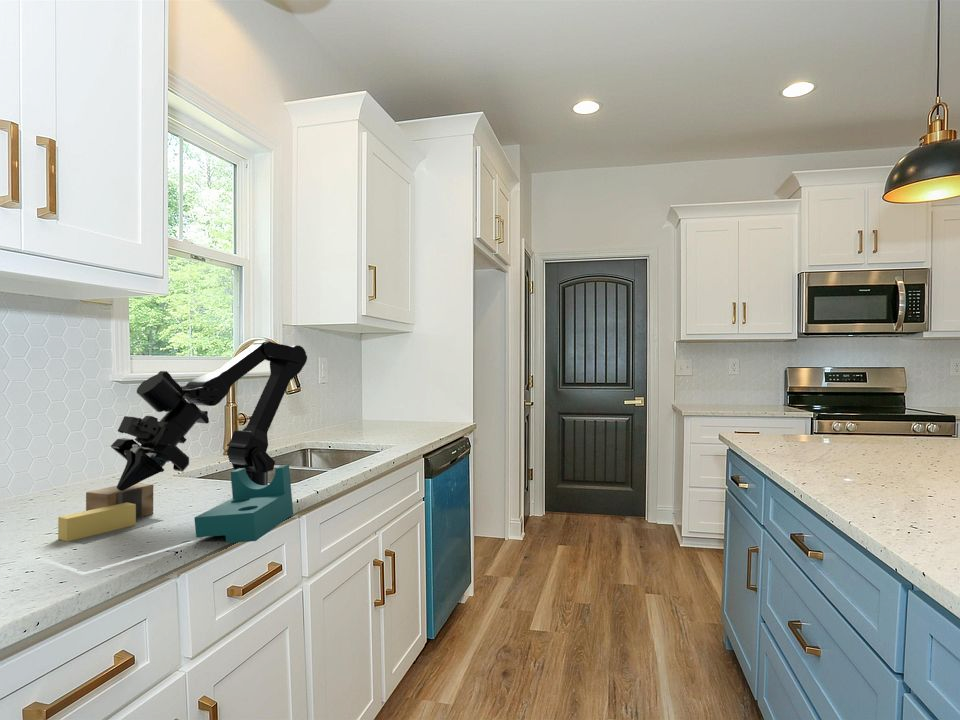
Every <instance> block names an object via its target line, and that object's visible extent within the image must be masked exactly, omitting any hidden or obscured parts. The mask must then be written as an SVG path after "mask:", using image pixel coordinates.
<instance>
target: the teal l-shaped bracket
mask: <svg viewBox="0 0 960 720" xmlns="http://www.w3.org/2000/svg"><path fill="white" fill-rule="evenodd" d="M274 469H275V472H274V475H273V476H274V477H273V479H272V481H271V482H270V483H268V485H258V484H256V483H254V482H253V481H251V479H250V478H249V477H248V475H247V473H246V469H245V468H240V469H237V470H234V469H233V470H232V471H230V480H231V481H230V483H231V493H232V494H231V495H232V498H230V499H228V500H226V501H225V502H223V503H221V504H218V505H217V506H214V507H213V508H210V509H208V510H207V511H204V512H202V513H201V514H199V515H196V516H195V517H193V518H194V527H195V538H205V537H206V538H207V537H219V536H225V544H226V543H231V544H235V543H237V544H238V543H248V542H250V543H251V542H257V541H258V540H260V539H261V538H262V537H264V536H265V535H266V534H268V533H269V532H270V531H272V530H273V529H275V528H276V527H278V526H279V525H280V524H282V523H283V522H284V521H286V520H287V519H288V518H290V517H292V516H293V515H294V509H293V495H292V486H291V485H292V484H291V473H290V472H291V471H290V464H282V465H279V466H277V467H275V468H274Z"/></svg>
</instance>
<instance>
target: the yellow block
mask: <svg viewBox="0 0 960 720" xmlns="http://www.w3.org/2000/svg"><path fill="white" fill-rule="evenodd" d="M57 519H58V520H57V523H58V524H57V525H58V526H57V531H58V533H57V535H58V536H57V537H58V538H57V539H58V540H59V541H61V540H64V541H63V542H67V541H71V540H75V539H79V538H83V537H87V536H91V535H95V534H100V533H104V532H108V531H112V530H116V529H120V528H124V527H128V526H132V525H136V504H132V503H128V502H126V503H122V504H117V505H112V506H107V507H102V508H97V509H93V510H88V511H86V510H84V511H79V512H75V513H74V512H73V513H68V514H65V515H60V516H58V518H57Z"/></svg>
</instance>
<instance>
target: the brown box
mask: <svg viewBox="0 0 960 720" xmlns="http://www.w3.org/2000/svg"><path fill="white" fill-rule="evenodd" d="M126 502H128V503H132V504H136V518H139V517H146V516H149V515H150V516H151V515H154V484H152V483H144V482H143V483H141V482H139V483H137V484H135V485H133V486H131V487H129V488H127V489H125V490H123V491H120V490H118V489H117V485H112V486H108V487H105V488H99V489H95V490H91V491H86V492H85V511H88V510H93V509H97V508H102V507H107V506H112V505H117V504H122V503H126Z"/></svg>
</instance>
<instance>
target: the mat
mask: <svg viewBox="0 0 960 720" xmlns="http://www.w3.org/2000/svg"><path fill="white" fill-rule="evenodd" d="M163 521H164V519H157V518H150V517H145V516H143V517H139V518H136V525H132V526H128V527H124V528H120V529H116V530H112V531H108V532H104V533H100V534H95V535H91V536H87V537H83V538H79V539H75V540H71V541H66V542H68V543H74V544H81V545H87V544H89V543H92V542H96V541H99V540H103V539H106V538H109V537H112V536H116V535H119V534H123V533H126V532H130V531H132V530H137V529H140V528H143V527H146V526H150V525H153V524H156V523H161V522H163ZM60 541H62V542H65V541H64V540H60Z"/></svg>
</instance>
